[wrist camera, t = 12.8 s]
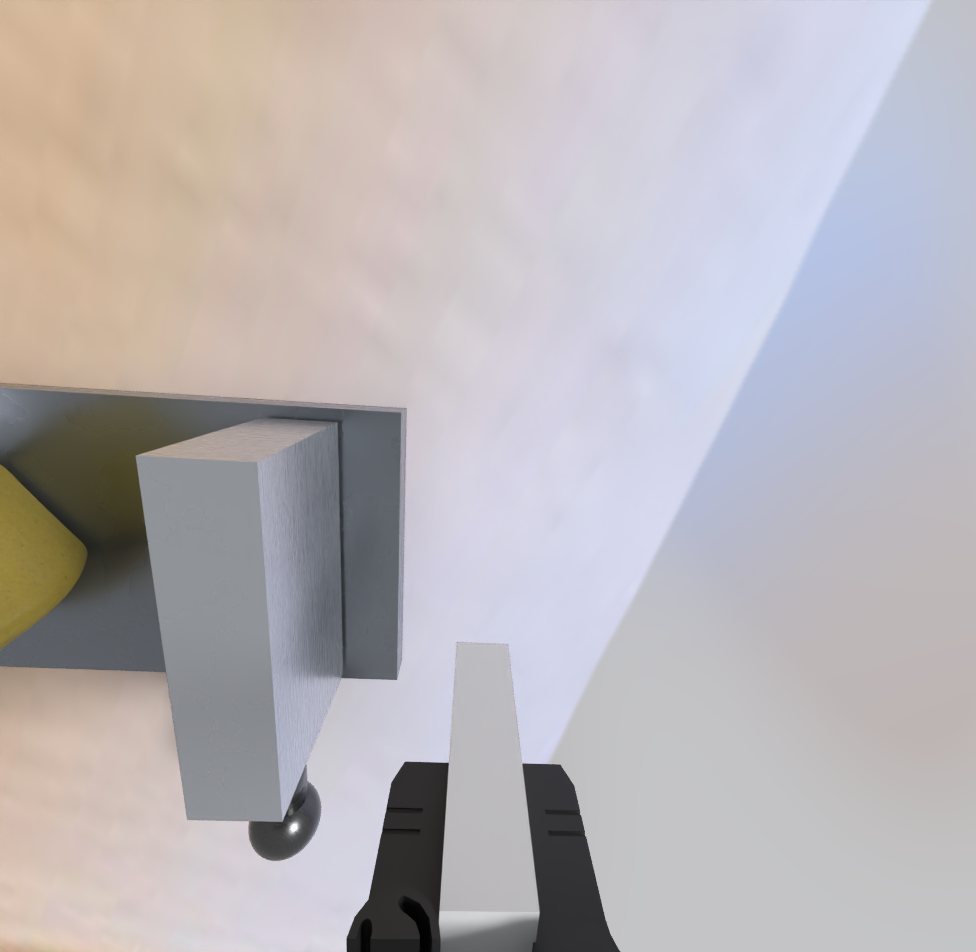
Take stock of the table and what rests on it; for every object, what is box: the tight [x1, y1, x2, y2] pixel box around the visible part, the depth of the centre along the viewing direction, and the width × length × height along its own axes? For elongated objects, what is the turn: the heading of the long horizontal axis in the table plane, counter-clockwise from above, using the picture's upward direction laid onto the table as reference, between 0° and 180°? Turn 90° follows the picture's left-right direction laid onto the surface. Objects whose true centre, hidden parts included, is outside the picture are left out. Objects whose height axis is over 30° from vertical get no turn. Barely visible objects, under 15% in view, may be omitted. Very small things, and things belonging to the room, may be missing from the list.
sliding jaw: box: [136, 418, 343, 861], centre depth 17 cm, size 18×4×7 cm, turn 176°
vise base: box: [0, 383, 406, 680], centre depth 17 cm, size 13×26×8 cm, turn 86°
